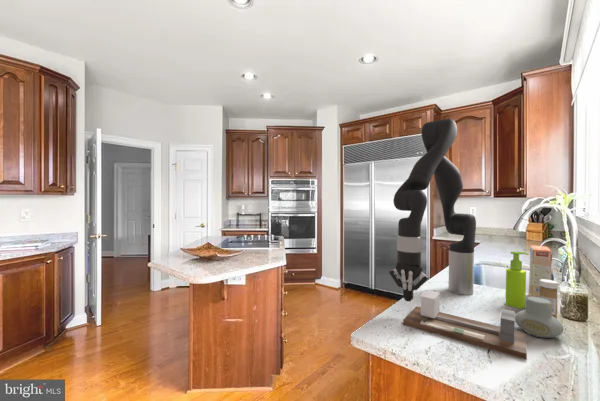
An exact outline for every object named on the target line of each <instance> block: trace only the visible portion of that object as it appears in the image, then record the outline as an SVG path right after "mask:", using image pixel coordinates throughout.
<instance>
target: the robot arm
mask: <svg viewBox="0 0 600 401" xmlns="http://www.w3.org/2000/svg"><path fill="white" fill-rule="evenodd" d="M457 135H458V127H457V123H456V121H455V120H453V119H452V118H446V119H438V120H432V121H428V122H425V123H424V124H423V125H422V127H421V138H422V139H421V140H422V142H423V144H424V148H425V151H426V153H425V154H423V155H422V156H421V157H420V158H419V159H418V160H417V161H416V162H415V164H414V165H413V168H412V169H411V171H410V173H409V176H408V178H407V179H406V180H404V182H403V183H402V184H401V186H399V188H398V189H397V190H396V192H395V194H394V196H393V205H394V206H393V207H395V208H396V210H399V211H402V212H403V211H404V212H405V211H406V212H410V213H409V215H408V217H402V218H400V219H399V220H398V227H397V234H398V236H397V244H396V249H397V250H396V265H395V268H393V269H391V270H390V271H389V272H388V273H389V275H390V276H391V278H392V279H393V281H394V283H395V284H396V285H397V287H399V288H402V290H403V291H402V292H403V294H402V297H403V299H404V301H405V302H411V301H413V299H414V291H417V290H418V289H419V288H421V286H423V285H424V284H425V282H427V281H428V280H429V278H430V276H429V275H428V274H425V273H424V272H423V268H422V266H421V265H422V237H421V236H422V234H421V233H422V231H421V228H422V227H421V226H422V221H423V218H424V214H425V212H426V209H427V205H428V197H427V195H426V193H425V192H424V191H425V190H426V189H427V188H428V187H429V185H430V183H431V180H433V179H432V178H433V176H434V181H435V185H436V188H437V192H438V194H439V199H440V202H441V206H442V214H443V220H444V226H445V229H446V231H447V233H449V234H451V235H455V236H463V238H462V239H461V240H459V241H456V242H451V243H449V245H448V246H449V247H448V281H447V282H448V285H447V286H448V287H447V288H448V291H449V292H451V293H454V294H459V295H466V296H468V295H473V294H474V272H475V270H474V267H475V266H474V265H475V264H474V263H475V245H476V231H477V230H476V229H477V221H476V220H477V219H476V217H475V215H474V214H471V213H460V212H459V213H456V212H455V204H456V202H457V201H458V199H459V197H460V196H461V194H462V192H463V188H464V185H463V179H462V176H461V171H460V169H458V167H457V166H456V165H455V164H454V163H453V162H452V161H451V160H450V159H449V158H447V157H446V156H445V155H446V154H447V152H448V151H449V150H450V148H451V147H452V145H453V144H454V142H455V140H456V138H457ZM418 277H419V281H418V282H417V283H416V284H415V282H416V279H418Z"/></svg>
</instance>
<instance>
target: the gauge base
mask: <svg viewBox="0 0 600 401" xmlns="http://www.w3.org/2000/svg"><path fill="white" fill-rule="evenodd" d="M515 315H516V311H513V310H509V309H505V308H501V312H500V326H499V325H495V324H492V323H487V322H482V321H480V320H474V319H471V318H467V317H463V316H458V315H454V314H450V313H445V312H442V311H439V313H438V314H437V316H436V317H435V318H430V317H429V318H428V319H427V321H426V322H423V320H424V319H425V317H426V316H422V315H421V306H415V307H414V308H413V309H412V310H410V312H409V313H408V314H407V315H406V316H405V317H404V318H403V320H402V325H404V326H407V327H411V328H414V329H418V330H422V331H424V332H428V333H432V334H435V335H439V336H442V337H446V338H449V339H452V340H457V341H460V342H463V343H465V344H466V343H467V344H470V345H475V346H477V347H481V348H485V349H488V350H492V351H495V352H498V353H502V354H505V355H508V356H513V357H516V358H519V359H523V360H528V359H527V357H528V356H527V355H528V354H527V339H526V336H527V335H526V331H520V330H517V329H515V327H516V326H515V325H516V324H515V323H516V322H515Z"/></svg>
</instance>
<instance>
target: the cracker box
mask: <svg viewBox="0 0 600 401" xmlns="http://www.w3.org/2000/svg"><path fill="white" fill-rule="evenodd" d="M529 246H530V248H529V275H528V277H529V278H528V297H539V298H540V285H539V280H541V279H547V280H552V261H553V260H552V259H553V251H552V250H551V249H550V248H549V247H548V246H546V245H545V246H543V245H533V244H532V245H529Z"/></svg>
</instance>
